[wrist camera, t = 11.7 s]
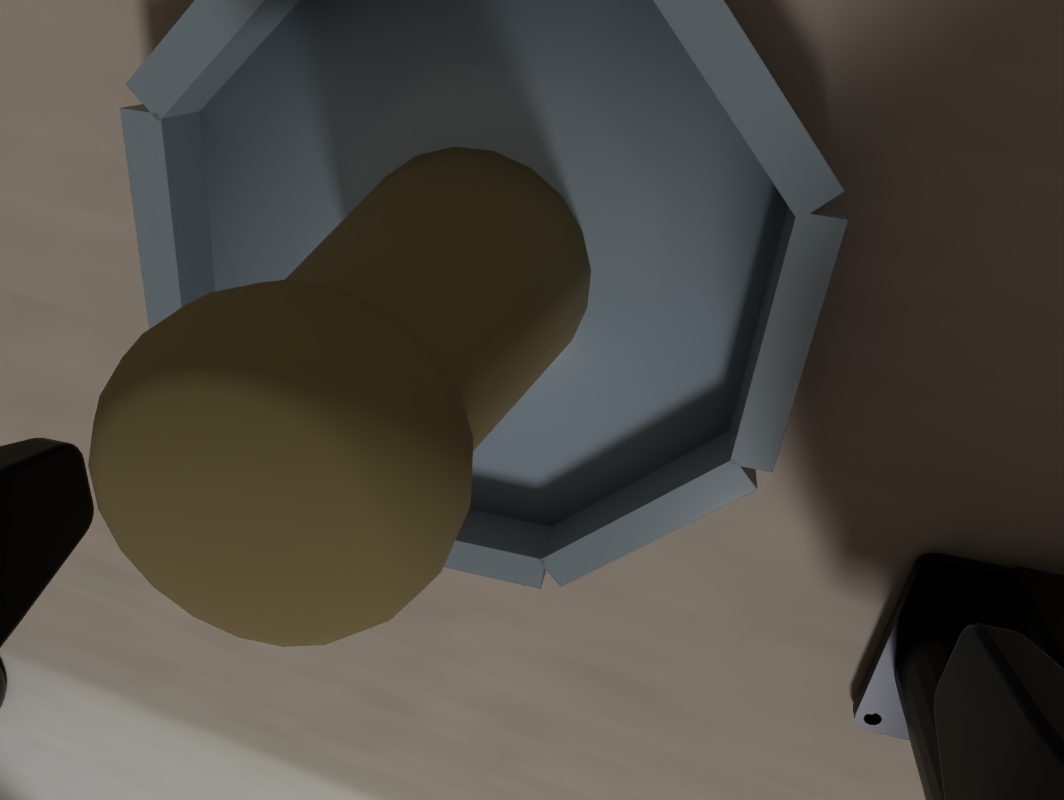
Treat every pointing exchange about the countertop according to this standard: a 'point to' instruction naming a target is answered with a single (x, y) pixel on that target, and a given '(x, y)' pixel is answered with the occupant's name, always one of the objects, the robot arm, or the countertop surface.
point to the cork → (339, 403)
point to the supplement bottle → (2, 686)
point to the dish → (568, 167)
